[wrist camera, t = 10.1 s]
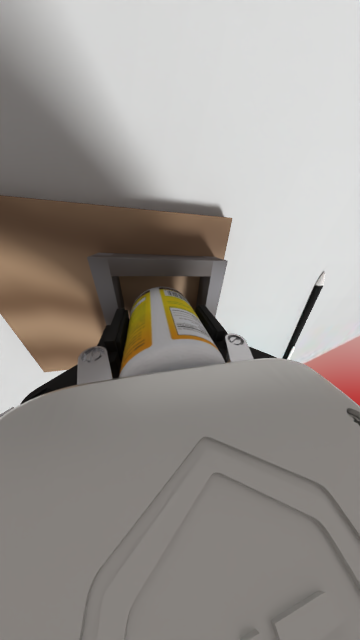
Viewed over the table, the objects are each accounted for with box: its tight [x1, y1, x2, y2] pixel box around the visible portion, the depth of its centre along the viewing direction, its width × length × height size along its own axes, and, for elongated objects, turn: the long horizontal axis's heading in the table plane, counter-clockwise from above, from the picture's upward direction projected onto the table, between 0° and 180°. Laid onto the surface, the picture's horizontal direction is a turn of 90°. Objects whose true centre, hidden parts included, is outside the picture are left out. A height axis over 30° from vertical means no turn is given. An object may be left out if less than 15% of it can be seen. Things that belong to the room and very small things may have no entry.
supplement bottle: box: [119, 287, 225, 378], centre depth 9 cm, size 6×6×10 cm
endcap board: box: [0, 195, 232, 372], centre depth 13 cm, size 16×20×4 cm
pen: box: [283, 272, 325, 360], centre depth 23 cm, size 1×19×1 cm, turn 8°
